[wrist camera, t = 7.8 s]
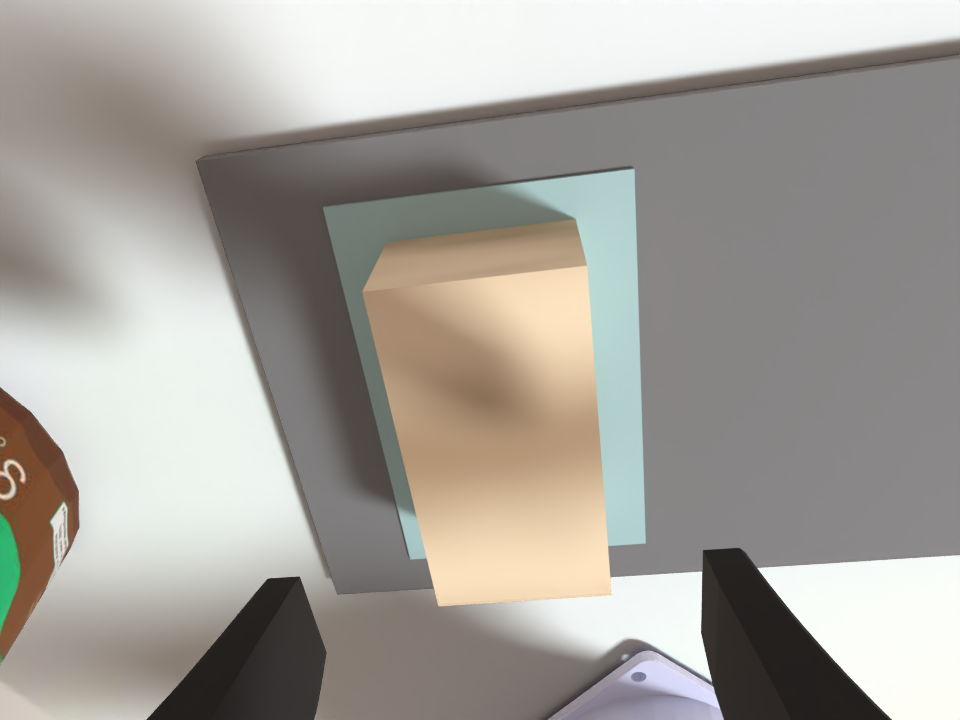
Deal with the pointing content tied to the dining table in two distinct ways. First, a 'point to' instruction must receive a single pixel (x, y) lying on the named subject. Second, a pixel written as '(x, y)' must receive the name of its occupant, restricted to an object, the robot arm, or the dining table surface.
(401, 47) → the dining table surface
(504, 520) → the tan wooden block
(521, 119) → the mat
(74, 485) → the food container
